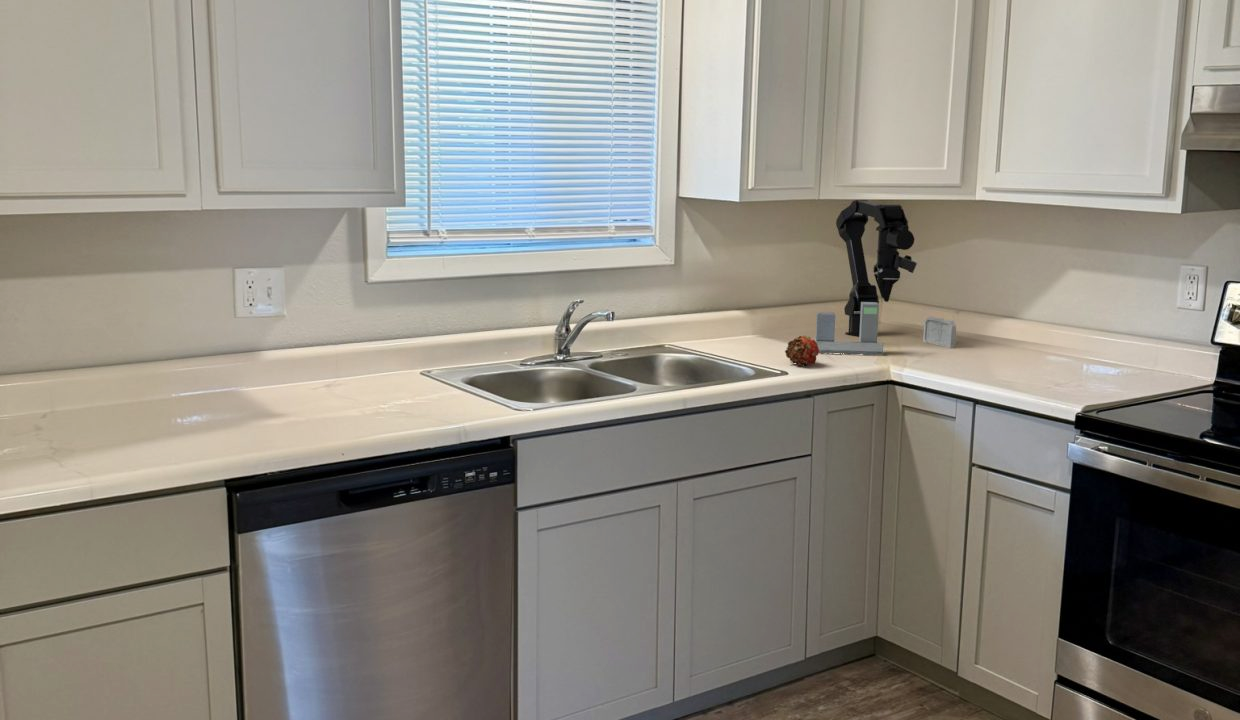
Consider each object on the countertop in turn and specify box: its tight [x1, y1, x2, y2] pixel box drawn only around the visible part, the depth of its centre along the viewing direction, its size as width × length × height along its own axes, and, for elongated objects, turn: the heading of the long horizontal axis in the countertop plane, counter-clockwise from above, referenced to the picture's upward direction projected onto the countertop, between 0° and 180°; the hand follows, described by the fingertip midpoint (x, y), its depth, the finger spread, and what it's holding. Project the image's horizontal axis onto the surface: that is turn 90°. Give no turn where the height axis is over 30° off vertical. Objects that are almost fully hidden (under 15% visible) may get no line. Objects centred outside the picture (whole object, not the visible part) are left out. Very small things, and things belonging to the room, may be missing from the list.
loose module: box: [858, 302, 880, 343], centre depth 311 cm, size 5×4×13 cm
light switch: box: [922, 316, 957, 349], centre depth 327 cm, size 2×12×8 cm, turn 25°
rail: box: [815, 311, 884, 356], centre depth 312 cm, size 18×7×11 cm, turn 82°
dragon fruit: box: [784, 335, 819, 366], centre depth 294 cm, size 8×8×12 cm
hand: (884, 299), depth 328 cm, fingers open, 9 cm apart
